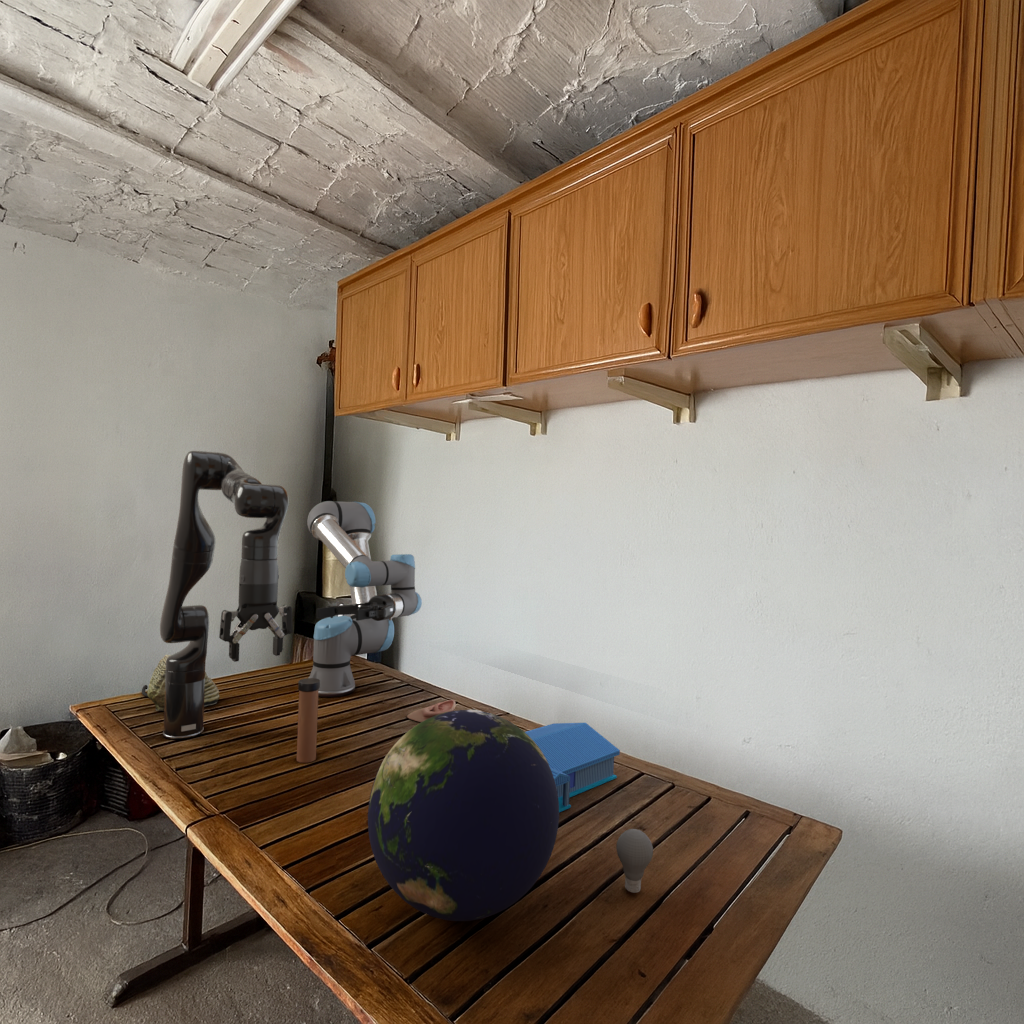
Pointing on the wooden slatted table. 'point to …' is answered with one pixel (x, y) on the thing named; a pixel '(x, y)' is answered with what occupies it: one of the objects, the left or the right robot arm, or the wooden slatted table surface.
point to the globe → (463, 815)
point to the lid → (308, 684)
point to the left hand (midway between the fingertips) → (256, 657)
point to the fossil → (158, 687)
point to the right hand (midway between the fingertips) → (336, 614)
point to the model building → (575, 757)
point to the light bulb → (634, 857)
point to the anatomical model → (432, 711)
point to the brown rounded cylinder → (307, 726)
